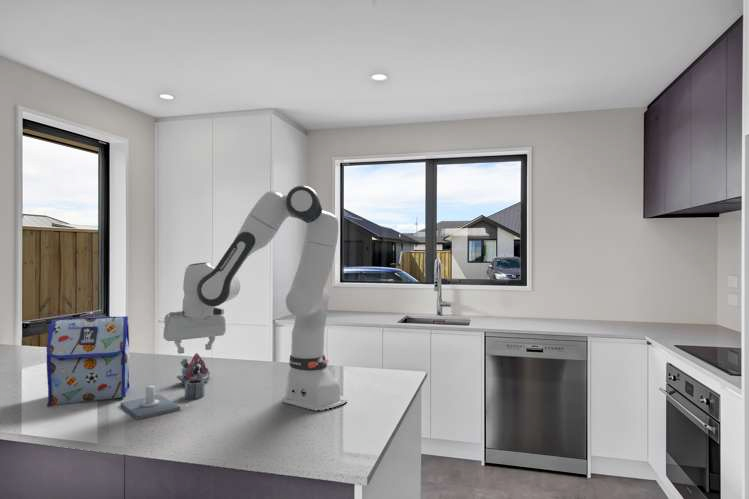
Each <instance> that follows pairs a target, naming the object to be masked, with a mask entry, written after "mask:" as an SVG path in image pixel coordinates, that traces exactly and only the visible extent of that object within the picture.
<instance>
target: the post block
mask: <svg viewBox="0 0 749 499" xmlns="http://www.w3.org/2000/svg"><path fill="white" fill-rule="evenodd" d="M120 407H121V408H123V409H124V410H125V411H127V412H128V413H129V414H130V415H132V416H133V417H134V418H136V419H137V420H142V419H147V418H152V417H154V416H160V415H163V414H168V413H169V414H170V413H173V412H177V411H180V410H181V406H180V405H178V404H177V403H175V402H173V401H171V400H170V399H168V398H167V397H165V396H163V395H161V394H157V395H156V386H155V385H147V386H146V387H145V397H142V398H136V399H132V400H128V401H127V400H126V401H122V402H120Z"/></svg>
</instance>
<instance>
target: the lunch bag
mask: <svg viewBox="0 0 749 499" xmlns="http://www.w3.org/2000/svg"><path fill="white" fill-rule="evenodd" d="M47 327H48V328H47V333H48V334H47V335H48V338H47V343H46V376H47V377H46V378H47V389H48V390H47V407H49V406H52V405H53V406H58V405H68V404H75V403H76V404H77V403H83V402H95V401H101V400H102V401H103V400H112V399H120V398H126V396H127V395H126V393H127V392H128V390H129V389H130V380H129V379H130V373H129V372H130V370H129V369H130V359H131V358H130V356H131V355H130V336H129V331H130V330H129V316H127V315H126V316H108V315H107V316H106V315H105V316H85V317H59V319H58V318H57V319H52V320H51V323H50V324H48V326H47Z"/></svg>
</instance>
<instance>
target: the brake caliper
mask: <svg viewBox="0 0 749 499" xmlns="http://www.w3.org/2000/svg"><path fill="white" fill-rule="evenodd" d="M201 357H202V356H200V354H199V353H197V352H195V354H194V355H193V357H192V358H191V361H190V362H188V359H187V358H182V360H181V361H180V363H179V364H180V366H182V368H181V373H182V374H181V375H177V376H176V378H177V379H178V381H180V382H182V384H183V385H184V386H185V382H186V381H188V380H193V379H202V380H204V381H205V384H207V383H208V382H209V380H210V378H211V376H210V374H211V372H210V371H209V368H208V367H206V363H205V362H204V360H203V359H202V358H201ZM199 365H200V366H199Z"/></svg>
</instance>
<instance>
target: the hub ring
mask: <svg viewBox="0 0 749 499" xmlns="http://www.w3.org/2000/svg"><path fill="white" fill-rule="evenodd" d="M205 384H206V383H205V381H204V380H202V379H193V380H188V381H186V382H185V385H184V399H186V400H198V399H202V398H204V397H205V386H206V385H205Z"/></svg>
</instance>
